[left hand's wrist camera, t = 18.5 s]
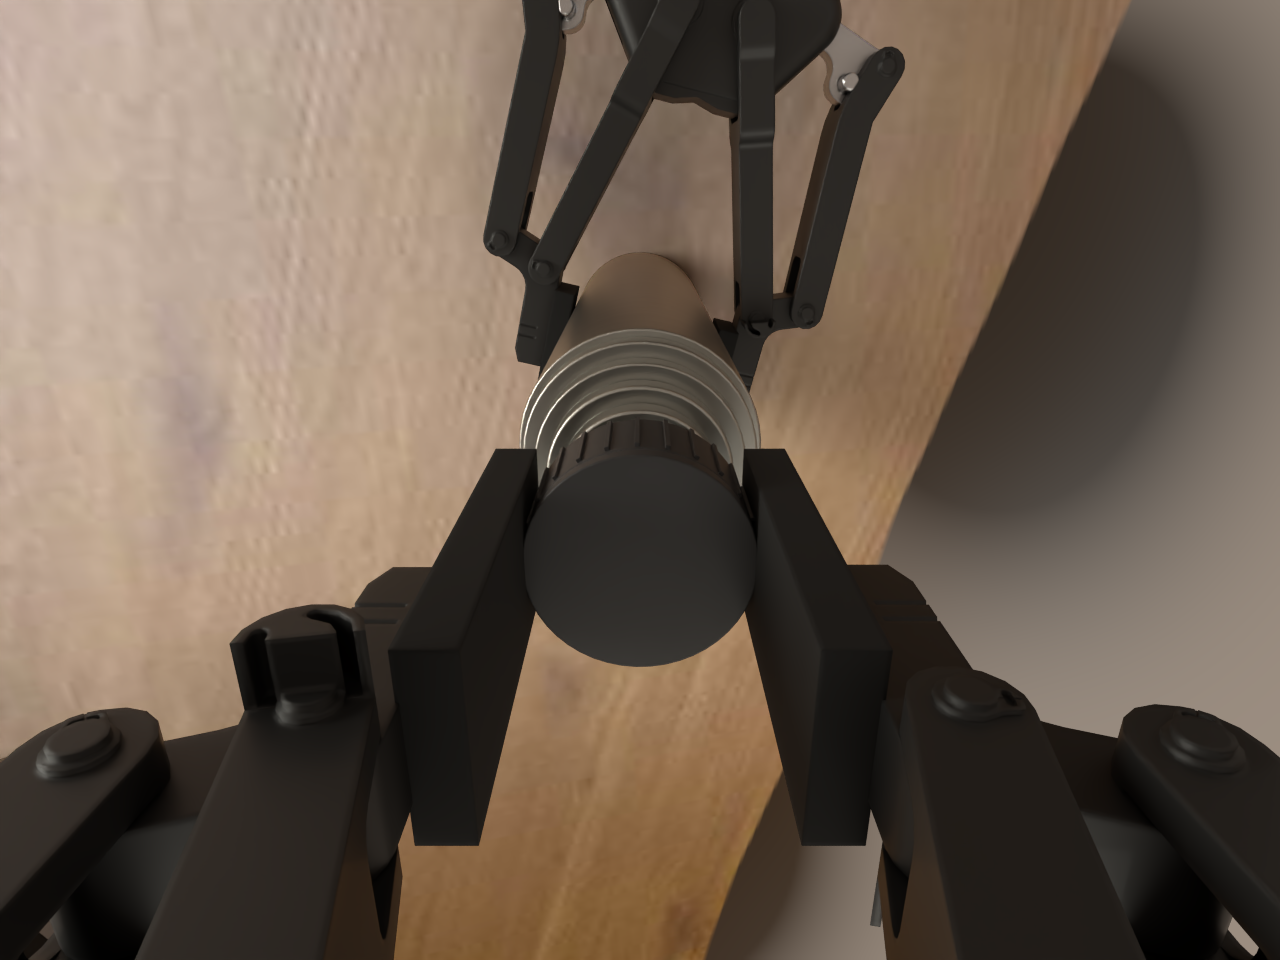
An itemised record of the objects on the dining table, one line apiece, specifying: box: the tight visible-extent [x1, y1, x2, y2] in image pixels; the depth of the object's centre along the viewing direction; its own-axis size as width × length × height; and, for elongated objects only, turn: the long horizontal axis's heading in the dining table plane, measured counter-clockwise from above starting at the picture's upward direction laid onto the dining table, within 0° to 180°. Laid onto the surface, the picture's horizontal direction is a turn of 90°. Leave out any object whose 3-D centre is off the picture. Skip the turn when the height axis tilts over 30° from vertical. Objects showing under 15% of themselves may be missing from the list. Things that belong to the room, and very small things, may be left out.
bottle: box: [519, 253, 761, 486], centre depth 25 cm, size 6×6×25 cm
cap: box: [523, 417, 757, 667], centre depth 14 cm, size 4×4×2 cm
